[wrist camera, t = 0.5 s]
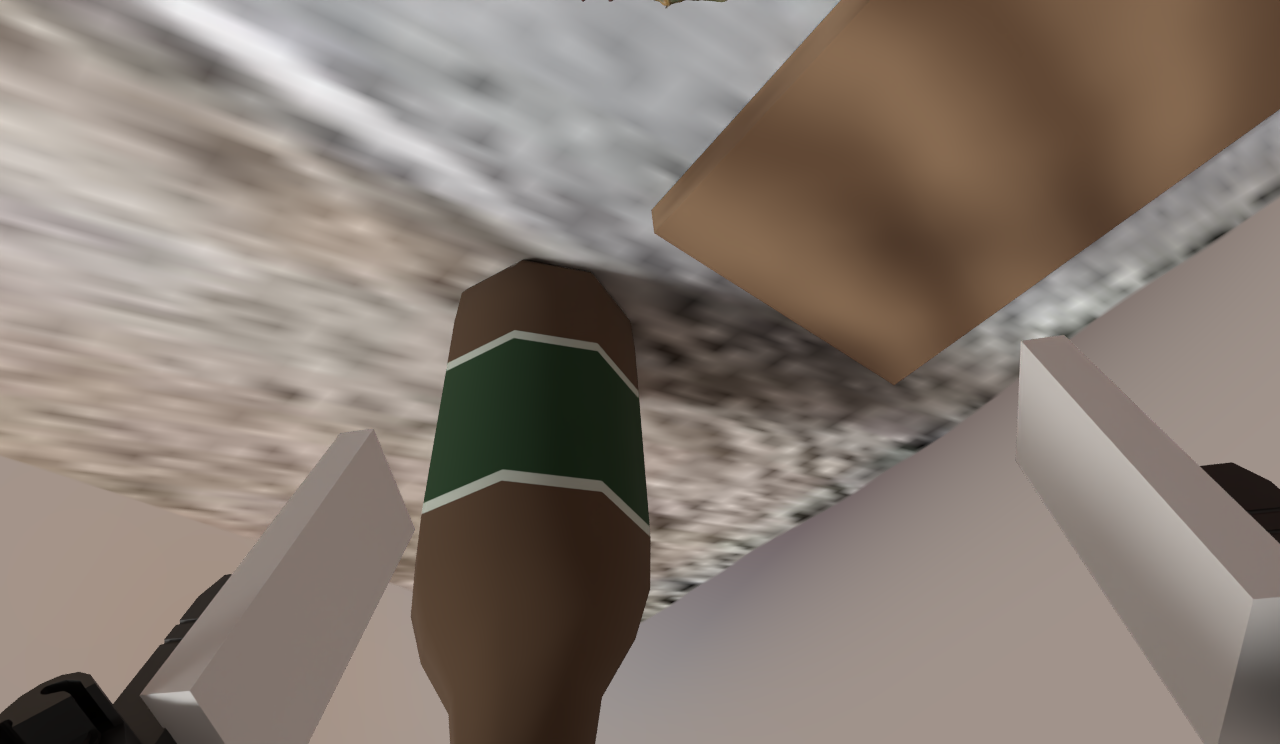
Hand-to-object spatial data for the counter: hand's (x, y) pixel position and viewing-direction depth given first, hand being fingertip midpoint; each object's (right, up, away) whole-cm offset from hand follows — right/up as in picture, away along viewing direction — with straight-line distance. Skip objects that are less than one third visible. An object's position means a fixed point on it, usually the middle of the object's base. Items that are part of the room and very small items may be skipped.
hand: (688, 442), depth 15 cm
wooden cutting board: (+12, +11, +10) cm, 19 cm away
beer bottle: (-5, +4, +17) cm, 18 cm away
